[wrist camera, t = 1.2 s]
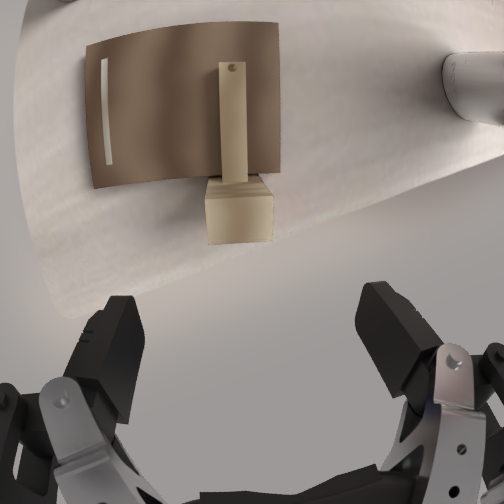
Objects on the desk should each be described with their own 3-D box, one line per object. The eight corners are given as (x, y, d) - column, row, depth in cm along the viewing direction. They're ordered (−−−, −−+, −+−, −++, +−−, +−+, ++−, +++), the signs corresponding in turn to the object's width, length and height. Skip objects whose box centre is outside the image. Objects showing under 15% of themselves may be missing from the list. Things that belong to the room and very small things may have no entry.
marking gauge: (255, 69, 20) (272, 47, 13) (257, 206, 26) (272, 241, 19) (205, 71, 20) (198, 48, 13) (211, 208, 26) (208, 245, 19)
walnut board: (273, 29, 19) (278, 22, 17) (275, 169, 25) (280, 173, 23) (95, 50, 17) (85, 46, 15) (102, 183, 23) (93, 189, 22)
